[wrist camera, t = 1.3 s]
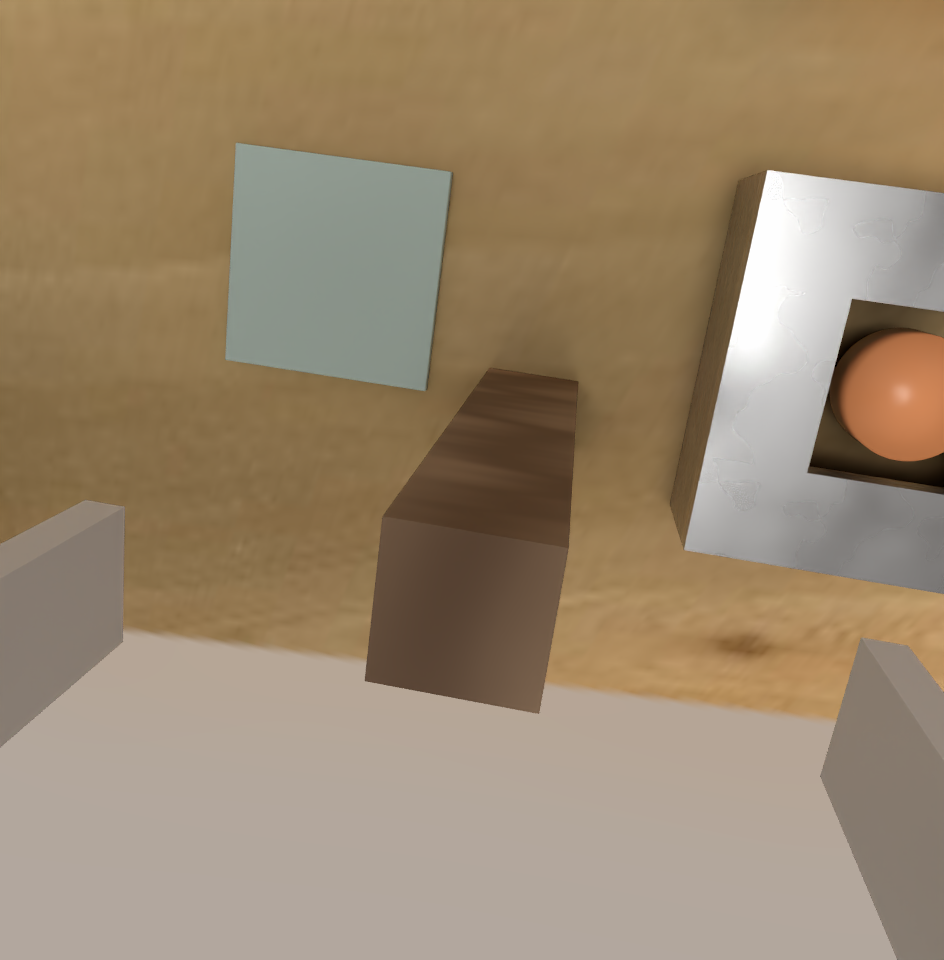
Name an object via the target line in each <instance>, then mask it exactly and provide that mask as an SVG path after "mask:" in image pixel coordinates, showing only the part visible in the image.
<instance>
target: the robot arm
mask: <svg viewBox="0 0 944 960" xmlns="http://www.w3.org/2000/svg"><path fill="white" fill-rule="evenodd" d="M124 530H125V507H123V506H117V505H112V504H106V503H101V502H95V501H89V500H84V501H82V502H80V503H78V504H76V505H74V506H73V507H71V508H69V509H67V510H65V511H63V512H61V513H59V514H57V515H55V516H53V517H51V518H49V519H47V520H46V521H44V522H42V523H40V524H38V525H36V526H34V527H32V528H30V529H28V530H26V531H24V532H22V533H20V534H19V535H17V536H15V537H13V538H11V539H9V540H7V541H5V542H3V543H1V544H0V747H1V746H2V745H3V744H5V743H6V742H7V741H8V740H9V739H10V738H11V737H13V736H14V735H15V734H16V733H17V732H19V731H20V730H21V729H22V728H23V727H24V726H26V725H27V724H28V723H29V722H30V721H31V720H33V719H34V718H35V717H36V716H37V715H38V714H40V713H41V712H42V711H43V710H44V709H45V708H46V707H48V706H49V705H50V704H51V703H52V702H53V701H55V700H56V699H57V698H58V697H59V696H60V695H61V694H63V693H64V692H65V691H66V690H67V689H69V688H70V687H71V686H72V685H73V684H74V683H75V682H77V681H78V680H79V679H80V678H81V677H82V676H84V675H85V674H86V673H87V672H88V671H89V670H91V669H92V668H93V667H94V666H95V665H96V664H97V663H99V662H100V661H101V660H102V659H103V658H104V657H106V656H107V655H108V654H109V653H110V652H111V651H113V650H114V649H115V648H116V647H117V646H118V645H119V644H121V643H122V642H123V593H124ZM820 777H821V779H822V781H823V784H824V786H825V788H826V791H827V794H828V796H829V798H830V800H831V803H832V805H833V808H834V810H835V812H836V815H837V817H838V820H839V822H840V824H841V827H842V829H843V832H844V834H845V836H846V839H847V841H848V843H849V846H850V848H851V850H852V853H853V855H854V858H855V860H856V863H857V865H858V867H859V870H860V872H861V874H862V877H863V879H864V882H865V884H866V886H867V889H868V891H869V893H870V896H871V898H872V901H873V903H874V905H875V908H876V910H877V912H878V915H879V917H880V920H881V922H882V924H883V927H884V929H885V931H886V934H887V936H888V939H889V941H890V943H891V946H892V948H893V951H894V953H895V955H896V958H897V960H944V692H943V691H942V689H941V688H940V687H939V686H938V684H937V683H936V682H935V680H934V679H933V678H932V676H931V675H930V674H929V673H928V671H927V670H926V669H925V667H924V666H923V665H922V663H921V662H920V661H919V660H918V658H917V657H916V656H915V654H914V653H913V652H912V650H911V649H910V648H909V647H908V646H906V645H901V644H895V643H890V642H884V641H878V640H873V639H867V638H861V640H860V643H859V646H858V650H857V653H856V657H855V660H854V663H853V667H852V670H851V674H850V677H849V680H848V684H847V687H846V691H845V694H844V697H843V701H842V704H841V708H840V711H839V714H838V718H837V721H836V725H835V728H834V732H833V735H832V738H831V742H830V745H829V748H828V752H827V755H826V759H825V762H824V765H823V769H822V772H821V776H820Z"/></svg>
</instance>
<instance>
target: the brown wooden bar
mask: <svg viewBox="0 0 944 960" xmlns="http://www.w3.org/2000/svg"><path fill="white" fill-rule="evenodd" d="M577 392H578V381H572V380H565V379H559V378H552V377H546V376H539V375H533V374H526V373H520V372H513V371H507V370H500V369H494V368H489V369H488V371H487V372H486V374H485V375H484V376H483V378H482V379H481V381H480V382H479V383H478V385H477V386H476V388H475V389H474V390H473V392H472V393H471V394H470V396H469V397H468V399H467V400H466V401H465V403H464V404H463V406H462V407H461V408H460V410H459V411H458V412H457V414H456V415H455V417H454V418H453V419H452V421H451V422H450V424H449V425H448V426H447V428H446V429H445V431H444V432H443V433H442V435H441V436H440V437H439V439H438V440H437V442H436V443H435V444H434V446H433V447H432V449H431V450H430V451H429V453H428V454H427V455H426V457H425V458H424V460H423V461H422V462H421V464H420V465H419V467H418V468H417V469H416V471H415V472H414V474H413V475H412V476H411V478H410V479H409V480H408V482H407V483H406V485H405V486H404V487H403V489H402V490H401V492H400V493H399V494H398V496H397V497H396V498H395V500H394V501H393V503H392V504H391V505H390V507H389V508H388V510H387V511H386V512H385V514H384V515H383V518H382V527H381V536H380V545H379V555H378V564H377V573H376V582H375V591H374V601H373V610H372V619H371V628H370V637H369V646H368V656H367V665H366V674H365V681H368V682H373V683H378V684H384V685H389V686H395V687H399V688H405V689H410V690H415V691H421V692H426V693H431V694H436V695H442V696H448V697H453V698H458V699H463V700H468V701H474V702H479V703H484V704H490V705H495V706H501V707H506V708H511V709H516V710H522V711H527V712H532V713H538V714H539V711H540V706H541V699H542V694H543V689H544V683H545V677H546V672H547V666H548V661H549V655H550V649H551V644H552V638H553V633H554V627H555V621H556V616H557V610H558V605H559V599H560V593H561V588H562V582H563V577H564V571H565V565H566V560H567V554H568V549H569V532H570V514H571V497H572V479H573V462H574V444H575V427H576V409H577Z"/></svg>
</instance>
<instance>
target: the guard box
mask: <svg viewBox="0 0 944 960" xmlns="http://www.w3.org/2000/svg"><path fill="white" fill-rule="evenodd" d="M852 299H858V300H865V301H872V302H879V303H886V304H893V305H900V306H907V307H914V308H921V309H928V310H935V311H943V312H944V193H938V192H931V191H923V190H915V189H908V188H900V187H892V186H885V185H877V184H869V183H862V182H854V181H846V180H839V179H831V178H823V177H816V176H808V175H800V174H793V173H785V172H777V171H770V170H767V171H764V172H761V173H758V174H755V175H753V176H750V177H747V178H744V179H741V180H739V181H738V186H737V191H736V195H735V200H734V205H733V209H732V214H731V219H730V224H729V228H728V233H727V238H726V242H725V247H724V252H723V257H722V261H721V266H720V271H719V275H718V280H717V285H716V290H715V294H714V299H713V304H712V308H711V313H710V318H709V323H708V327H707V332H706V337H705V341H704V346H703V351H702V356H701V360H700V365H699V370H698V374H697V379H696V384H695V389H694V393H693V398H692V403H691V407H690V412H689V417H688V422H687V426H686V431H685V436H684V440H683V445H682V450H681V455H680V459H679V464H678V469H677V473H676V478H675V483H674V488H673V492H672V497H671V502H670V507H671V510H672V513H673V516H674V520H675V523H676V526H677V529H678V533H679V536H680V539H681V542H682V546H683V549H684V550H687V551H693V552H699V553H705V554H711V555H717V556H723V557H729V558H735V559H741V560H746V561H752V562H758V563H764V564H770V565H776V566H782V567H788V568H794V569H800V570H806V571H811V572H817V573H823V574H829V575H835V576H841V577H847V578H853V579H859V580H865V581H871V582H876V583H882V584H888V585H894V586H900V587H906V588H912V589H918V590H924V591H930V592H936V593H941V594H944V488H942V487H936V486H929V485H923V484H917V483H910V482H904V481H898V480H892V479H885V478H879V477H873V476H866V475H860V474H854V473H848V472H841V471H835V470H829V469H822V468H816V467H810V466H809V464H810V460H811V456H812V452H813V448H814V444H815V440H816V437H817V433H818V429H819V425H820V421H821V417H822V413H823V409H824V406H825V402H826V398H827V394H828V390H829V386H830V382H831V379H832V375H833V371H834V367H835V363H836V359H837V355H838V351H839V348H840V344H841V340H842V336H843V332H844V328H845V324H846V321H847V317H848V313H849V309H850V305H851V301H852Z"/></svg>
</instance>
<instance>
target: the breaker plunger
mask: <svg viewBox="0 0 944 960" xmlns="http://www.w3.org/2000/svg"><path fill="white" fill-rule="evenodd" d="M830 402H831V407H832V410H833V413H834V415H835V417H836V419H837V421H838V422H839V424H840V425H841V426H842V427H843V429H844V430H845V431H847V432H848V433H849V434H850V435H851V436H853V437H854V438H855V439H857V440H858V441H859V442H860V443H862V444H863V445H864V446H866V447H867V448H868V449H870V450H871V451H873V452H874V453H876V454H878V455H880V456H883V457H885V458H888V459H893V460H898V461H917V460H924V459H927V458H931V457H934V456H936V455H939V454H941V453H943V452H944V338H942V337H939V336H936V335H932V334H929V333H925V332H922V331H919V330H914V329H909V328H891V329H885V330H881V331H878V332H875V333H873V334H870V335H868V336H866V337H864V338H863V339H861V340H860V341H858V342H857V343H856V344H854V345H853V346H852V347H851V348H850V349H849V350H848V351H847V352H846V353H845V354H844V356H843V357H842V358H841V360H840V361H839V363H838V364H837V366H836V369H835V371H834V373H833V376H832V379H831V385H830Z"/></svg>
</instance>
